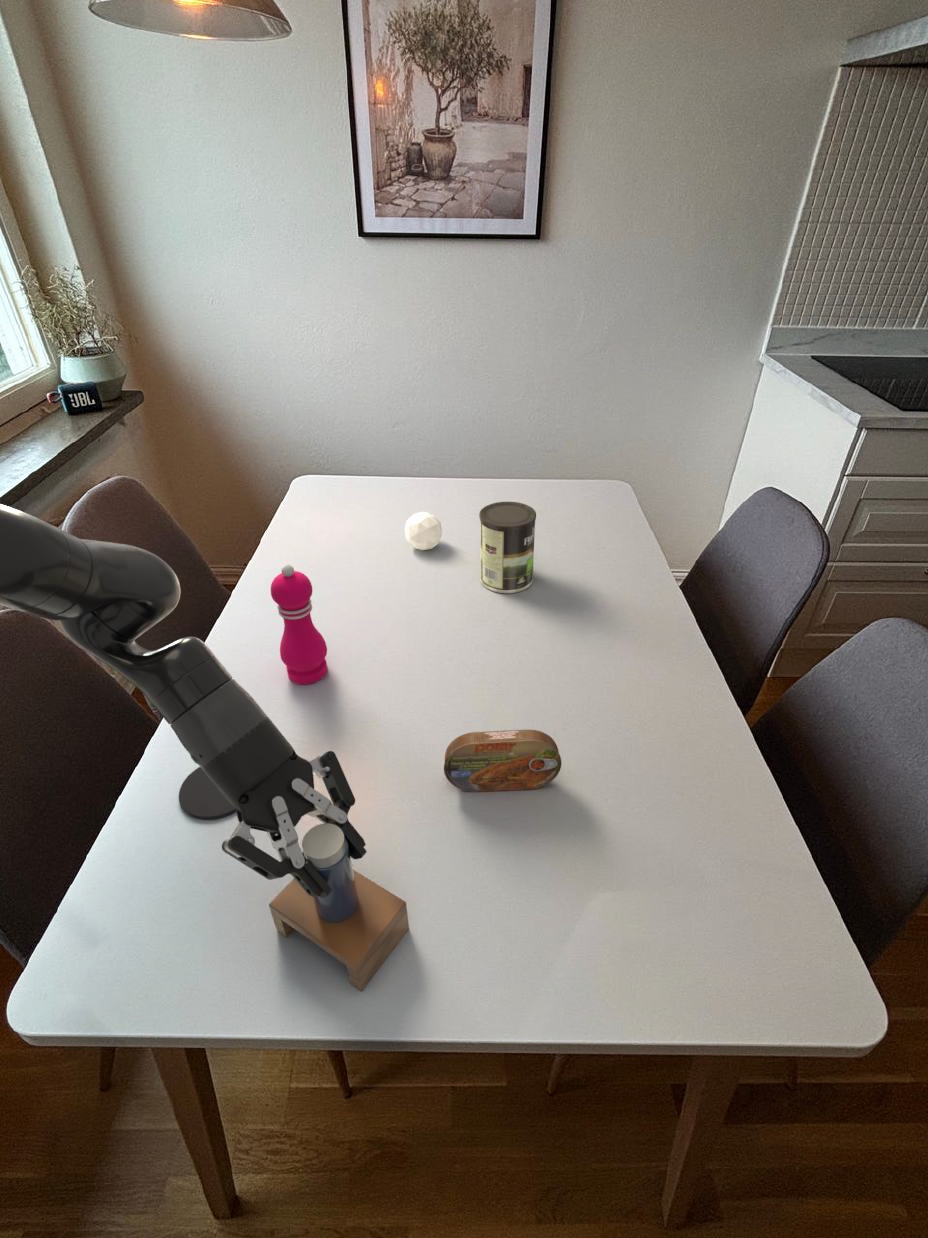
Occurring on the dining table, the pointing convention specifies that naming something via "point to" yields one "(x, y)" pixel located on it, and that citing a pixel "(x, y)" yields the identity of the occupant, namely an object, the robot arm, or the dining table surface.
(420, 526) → the geometric ball
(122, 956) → the dining table surface
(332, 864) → the cylinder
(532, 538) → the coffee can
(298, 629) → the pepper mill
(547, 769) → the tin
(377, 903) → the shelf
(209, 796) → the mat
